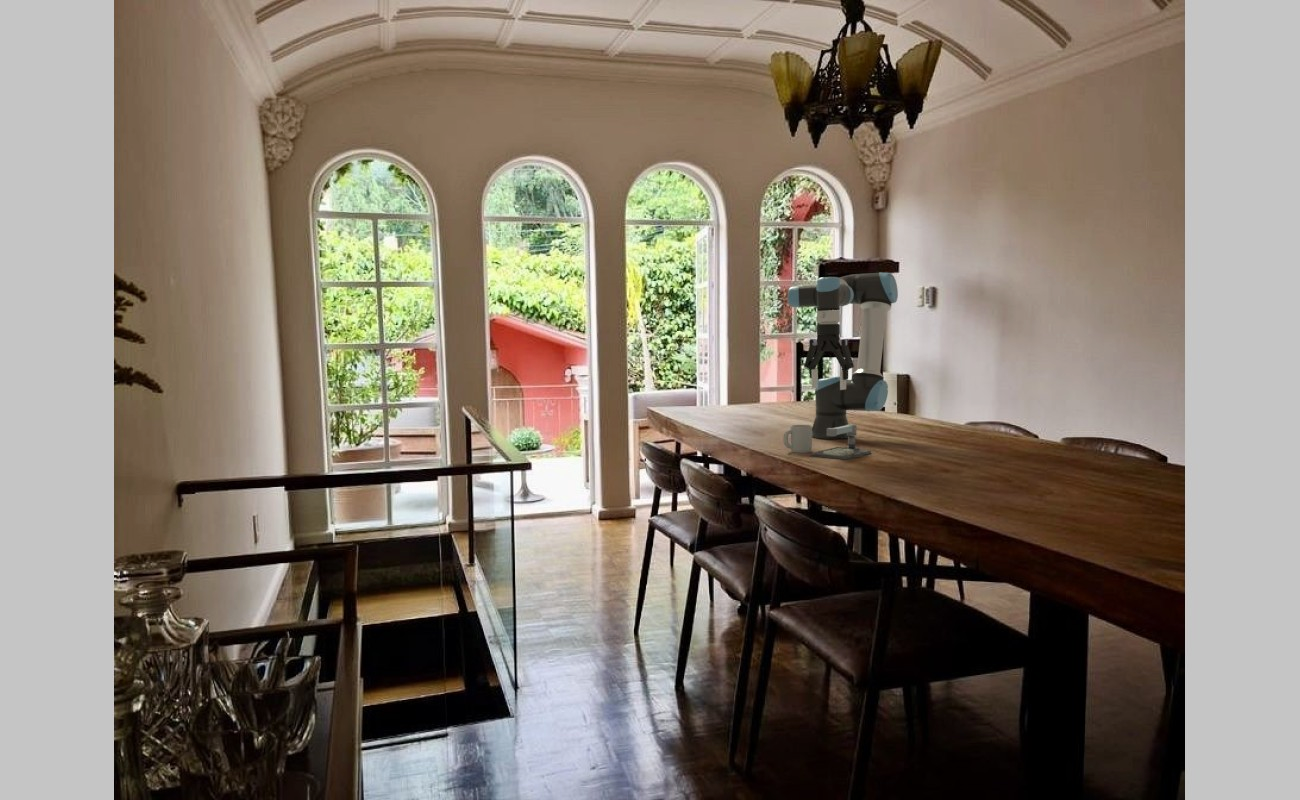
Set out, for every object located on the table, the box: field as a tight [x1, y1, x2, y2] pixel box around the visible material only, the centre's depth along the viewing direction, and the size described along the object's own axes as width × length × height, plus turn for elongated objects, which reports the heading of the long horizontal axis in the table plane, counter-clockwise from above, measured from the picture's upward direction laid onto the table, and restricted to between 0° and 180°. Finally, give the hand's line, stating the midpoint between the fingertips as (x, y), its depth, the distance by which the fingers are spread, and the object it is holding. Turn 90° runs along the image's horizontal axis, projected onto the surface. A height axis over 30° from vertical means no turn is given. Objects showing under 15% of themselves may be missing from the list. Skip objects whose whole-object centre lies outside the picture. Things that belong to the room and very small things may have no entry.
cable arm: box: [827, 424, 857, 437], centre depth 270 cm, size 15×3×4 cm, turn 136°
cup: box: [782, 424, 813, 454], centre depth 278 cm, size 7×10×9 cm
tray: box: [811, 435, 872, 461], centre depth 270 cm, size 16×13×6 cm
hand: (828, 388), depth 274 cm, fingers open, 10 cm apart
